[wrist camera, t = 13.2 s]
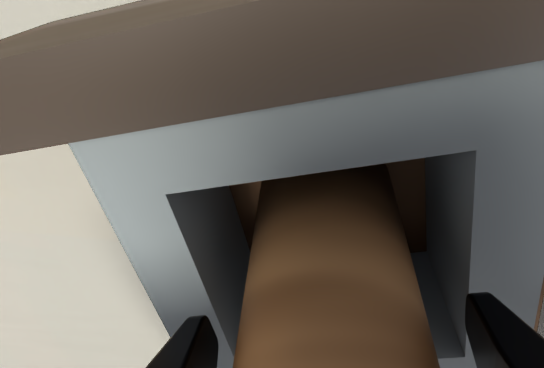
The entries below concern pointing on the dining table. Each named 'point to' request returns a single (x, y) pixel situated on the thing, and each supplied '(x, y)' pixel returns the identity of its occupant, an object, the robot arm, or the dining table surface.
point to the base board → (248, 68)
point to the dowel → (332, 277)
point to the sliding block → (329, 157)
